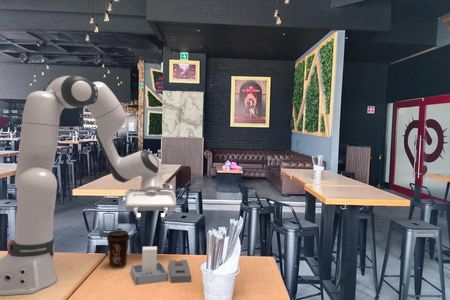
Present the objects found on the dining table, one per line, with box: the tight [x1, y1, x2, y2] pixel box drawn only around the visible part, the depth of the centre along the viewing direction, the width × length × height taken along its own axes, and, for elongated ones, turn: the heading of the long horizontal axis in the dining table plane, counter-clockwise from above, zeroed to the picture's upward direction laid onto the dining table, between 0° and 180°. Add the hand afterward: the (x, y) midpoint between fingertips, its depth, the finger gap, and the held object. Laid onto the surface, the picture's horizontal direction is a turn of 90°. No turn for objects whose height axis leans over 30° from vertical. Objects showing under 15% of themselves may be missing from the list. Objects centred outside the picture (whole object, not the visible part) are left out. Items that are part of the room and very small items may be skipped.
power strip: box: [168, 258, 192, 284], centre depth 130 cm, size 16×7×3 cm, turn 12°
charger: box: [141, 245, 158, 275], centre depth 126 cm, size 5×4×10 cm
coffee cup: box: [106, 229, 130, 270], centre depth 136 cm, size 9×8×13 cm
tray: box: [130, 261, 169, 286], centre depth 126 cm, size 11×11×3 cm
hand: (150, 218), depth 137 cm, fingers open, 8 cm apart
